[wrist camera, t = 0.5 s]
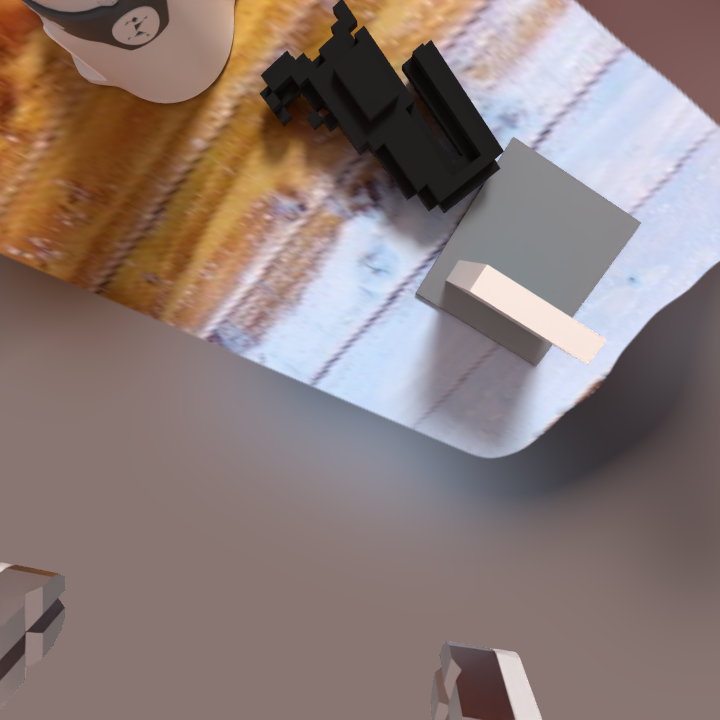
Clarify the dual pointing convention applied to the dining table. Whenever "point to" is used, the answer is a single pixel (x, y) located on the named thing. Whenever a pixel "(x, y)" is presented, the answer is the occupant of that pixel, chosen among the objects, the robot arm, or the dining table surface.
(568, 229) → the mat
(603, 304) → the dining table surface
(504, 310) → the tile
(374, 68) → the tool
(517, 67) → the dining table surface
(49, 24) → the robot arm
